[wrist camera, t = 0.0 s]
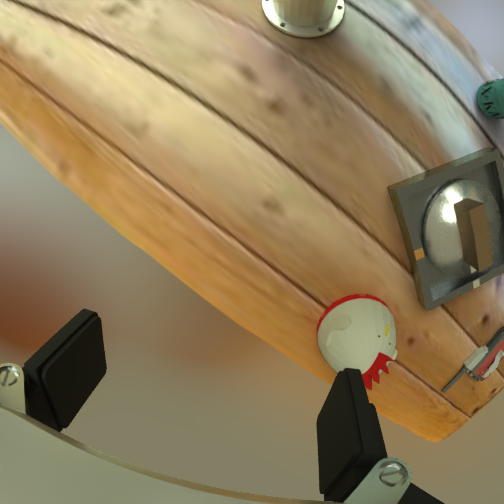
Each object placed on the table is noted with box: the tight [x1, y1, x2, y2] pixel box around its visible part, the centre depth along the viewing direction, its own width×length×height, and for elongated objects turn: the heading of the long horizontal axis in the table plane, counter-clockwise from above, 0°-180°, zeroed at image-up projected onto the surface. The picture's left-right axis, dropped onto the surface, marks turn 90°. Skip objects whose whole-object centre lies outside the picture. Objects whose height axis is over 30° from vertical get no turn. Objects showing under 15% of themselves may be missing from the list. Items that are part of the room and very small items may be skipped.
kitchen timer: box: [317, 294, 397, 390], centre depth 44 cm, size 14×14×15 cm
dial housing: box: [388, 148, 504, 311], centre depth 41 cm, size 21×21×4 cm
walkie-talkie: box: [442, 327, 504, 393], centre depth 50 cm, size 9×4×20 cm
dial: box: [423, 179, 501, 277], centre depth 38 cm, size 16×16×6 cm
